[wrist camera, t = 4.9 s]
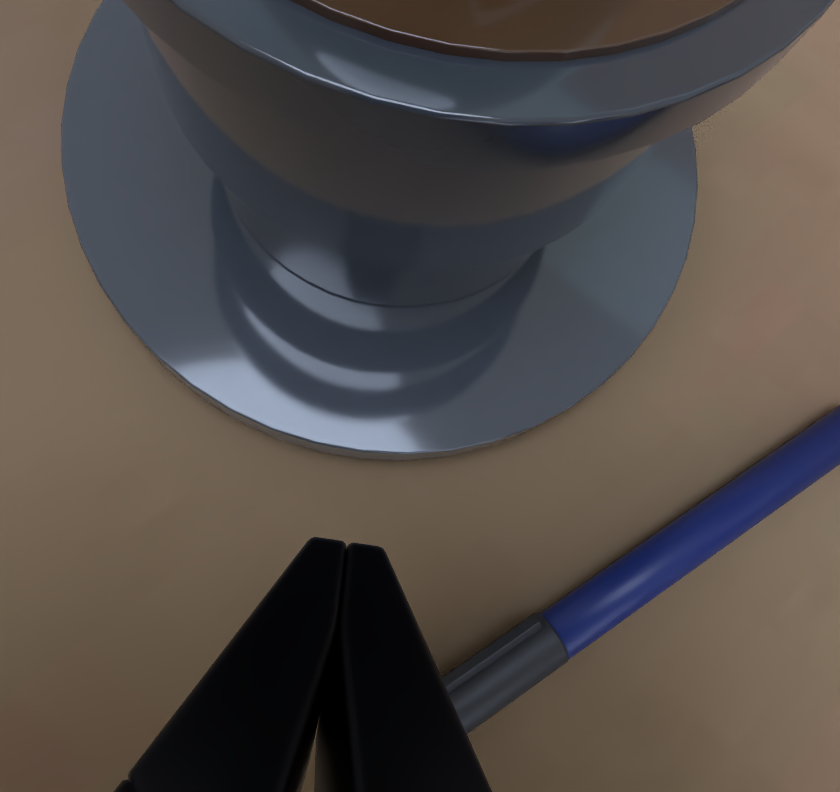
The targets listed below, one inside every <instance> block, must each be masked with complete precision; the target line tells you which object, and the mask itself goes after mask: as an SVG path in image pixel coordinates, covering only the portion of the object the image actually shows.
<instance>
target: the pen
mask: <svg viewBox="0 0 840 792" xmlns="http://www.w3.org/2000/svg"><path fill="white" fill-rule="evenodd" d="M839 464H840V406H838V407H837V408H835V409H834V410H833V411H831V412H830V413H828V414H827V415H825V416H824V417H822V418H821V419H820V420H818V421H817V422H815V423H814V424H812V425H811V426H810V427H808V428H807V429H805V430H804V431H802V432H801V433H799V434H798V435H797V436H795V437H794V438H792V439H791V440H789V441H788V442H787V443H785V444H784V445H782V446H781V447H779V448H778V449H776V450H775V451H774V452H772V453H771V454H769V455H768V456H766V457H765V458H763V459H762V460H761V461H759V462H758V463H756V464H755V465H753V466H752V467H751V468H749V469H748V470H746V471H745V472H743V473H742V474H740V475H739V476H738V477H736V478H735V479H733V480H732V481H730V482H729V483H728V484H726V485H725V486H723V487H722V488H720V489H719V490H717V491H716V492H715V493H713V494H712V495H710V496H709V497H707V498H706V499H705V500H703V501H702V502H700V503H699V504H697V505H696V506H694V507H693V508H692V509H690V510H689V511H687V512H686V513H684V514H683V515H682V516H680V517H679V518H677V519H676V520H674V521H673V522H671V523H670V524H669V525H667V526H666V527H664V528H663V529H661V530H660V531H659V532H657V533H656V534H654V535H653V536H651V537H650V538H648V539H647V540H646V541H644V542H643V543H641V544H640V545H638V546H637V547H636V548H634V549H633V550H631V551H630V552H628V553H627V554H625V555H624V556H623V557H621V558H620V559H618V560H617V561H615V562H614V563H613V564H611V565H610V566H608V567H607V568H605V569H604V570H602V571H601V572H600V573H598V574H597V575H595V576H594V577H592V578H591V579H590V580H588V581H587V582H585V583H584V584H582V585H581V586H579V587H578V588H577V589H575V590H574V591H572V592H571V593H569V594H568V595H567V596H565V597H564V598H562V599H561V600H559V601H558V602H556V603H555V604H554V605H552V606H551V607H549V608H548V609H546V610H545V611H544V612H542V613H541V614H539V613H534V614H533V615H531V616H530V617H528V618H527V619H525V620H524V621H523V622H521V623H520V624H518V625H517V626H515V627H514V628H512V629H511V630H510V631H508V632H507V633H505V634H504V635H502V636H501V637H499V638H498V639H497V640H495V641H494V642H492V643H491V644H489V645H488V646H486V647H485V648H484V649H482V650H481V651H479V652H478V653H476V654H475V655H474V656H472V657H471V658H469V659H468V660H466V661H465V662H463V663H462V664H461V665H459V666H458V667H456V668H455V669H453V670H452V671H450V672H449V673H448V674H446V675H445V676H443V677H442V680H443V682H444V685H445V687H446V689H447V691H448V694H449V696H450V698H451V700H452V703H453V705H454V707H455V709H456V712H457V714H458V716H459V718H460V721H461V723H462V725H463V727H464V730H465V732H466V734H468V733H469V732H471V731H472V730H473V729H475V728H476V727H477V726H479V725H480V724H482V723H483V722H484V721H486V720H487V719H489V718H490V717H491V716H493V715H494V714H496V713H497V712H498V711H500V710H501V709H502V708H504V707H505V706H507V705H508V704H509V703H511V702H512V701H514V700H515V699H516V698H518V697H519V696H520V695H522V694H523V693H525V692H526V691H527V690H529V689H530V688H532V687H533V686H534V685H536V684H537V683H539V682H540V681H541V680H543V679H544V678H545V677H547V676H548V675H550V674H551V673H552V672H554V671H555V670H557V669H558V668H559V667H561V666H562V665H564V664H565V663H566V662H567V661H568V660H569V659H570V658H571V657H573V656H574V655H575V654H577V653H578V652H580V651H581V650H582V649H584V648H585V647H586V646H588V645H589V644H591V643H592V642H593V641H595V640H596V639H598V638H599V637H600V636H602V635H603V634H605V633H606V632H607V631H609V630H610V629H611V628H613V627H614V626H616V625H617V624H618V623H620V622H621V621H623V620H624V619H625V618H627V617H628V616H630V615H631V614H632V613H634V612H635V611H636V610H638V609H639V608H641V607H642V606H643V605H645V604H646V603H648V602H649V601H650V600H652V599H653V598H655V597H656V596H657V595H659V594H660V593H661V592H663V591H664V590H666V589H667V588H668V587H670V586H671V585H673V584H674V583H675V582H677V581H678V580H680V579H681V578H682V577H684V576H685V575H686V574H688V573H689V572H691V571H692V570H693V569H695V568H696V567H698V566H699V565H700V564H702V563H703V562H705V561H706V560H707V559H709V558H710V557H711V556H713V555H714V554H716V553H717V552H718V551H720V550H721V549H723V548H724V547H725V546H727V545H728V544H730V543H731V542H732V541H734V540H735V539H736V538H738V537H739V536H741V535H742V534H743V533H745V532H746V531H748V530H749V529H750V528H752V527H753V526H755V525H756V524H757V523H759V522H760V521H761V520H763V519H764V518H766V517H767V516H768V515H770V514H771V513H773V512H774V511H775V510H777V509H778V508H780V507H781V506H782V505H784V504H785V503H786V502H788V501H789V500H791V499H792V498H793V497H795V496H796V495H798V494H799V493H800V492H802V491H803V490H805V489H806V488H807V487H809V486H810V485H811V484H813V483H814V482H816V481H817V480H818V479H820V478H821V477H823V476H824V475H825V474H827V473H828V472H830V471H831V470H832V469H834V468H835V467H836V466H838V465H839Z"/></svg>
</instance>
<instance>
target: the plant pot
mask: <svg viewBox="0 0 840 792" xmlns="http://www.w3.org/2000/svg"><path fill="white" fill-rule="evenodd" d="M834 1H835V0H103V2H102V3H101V4H100V6H99V7H98V9H97V10H96V12H95V14H94V16H93V18H92V20H91V22H90V24H89V26H88V29H87V31H86V33H85V35H84V37H83V39H82V41H81V43H80V45H79V48H78V51H77V54H76V57H75V61H74V64H73V67H72V71H71V74H70V77H69V80H68V84H67V90H66V96H65V103H64V110H63V117H62V124H61V135H62V170H63V176H64V182H65V189H66V195H67V201H68V207H69V210H70V213H71V216H72V219H73V222H74V226H75V229H76V232H77V235H78V238H79V241H80V244H81V247H82V249H83V251H84V253H85V255H86V257H87V259H88V262H89V264H90V266H91V268H92V270H93V272H94V274H95V276H96V278H97V280H98V282H99V284H100V286H101V287H102V289H103V290H104V292H105V293H106V295H107V296H108V298H109V299H110V301H111V302H112V304H113V305H114V307H115V308H116V310H117V311H118V313H119V314H120V316H121V317H122V318H123V320H124V321H125V323H126V324H127V325H128V326H129V328H130V329H131V330H132V331H133V332H134V333H135V335H136V336H137V337H138V338H139V339H140V340H141V341H142V343H143V344H144V345H145V346H146V347H147V348H148V349H149V350H150V351H151V353H152V354H153V355H154V356H155V357H156V358H157V359H158V360H159V361H160V363H161V364H162V365H163V366H164V367H165V368H166V369H167V370H168V371H170V372H171V373H172V374H173V375H174V376H175V377H177V378H178V379H179V380H180V381H181V382H183V383H184V384H185V385H186V386H187V387H189V388H190V389H191V390H192V391H193V392H194V393H196V394H197V395H198V396H199V397H201V398H203V399H204V400H206V401H207V402H209V403H210V404H212V405H213V406H215V407H217V408H218V409H220V410H221V411H223V412H224V413H226V414H228V415H229V416H231V417H232V418H234V419H236V420H238V421H240V422H242V423H244V424H246V425H248V426H250V427H253V428H255V429H257V430H259V431H261V432H263V433H265V434H268V435H270V436H272V437H274V438H277V439H280V440H283V441H286V442H289V443H293V444H296V445H299V446H302V447H305V448H308V449H312V450H315V451H319V452H325V453H330V454H336V455H341V456H347V457H353V458H358V459H378V460H399V461H403V460H415V459H427V458H439V457H446V456H451V455H455V454H460V453H464V452H469V451H473V450H478V449H482V448H485V447H488V446H491V445H494V444H496V443H499V442H502V441H505V440H507V439H510V438H513V437H515V436H518V435H521V434H523V433H525V432H527V431H528V430H530V429H532V428H534V427H536V426H538V425H540V424H542V423H543V422H545V421H547V420H549V419H551V418H553V417H555V416H557V415H558V414H560V413H562V412H564V411H565V410H567V409H569V408H571V407H572V406H573V405H575V404H576V403H578V402H579V401H580V400H582V399H583V398H584V397H586V396H587V395H589V394H590V393H591V392H593V391H594V390H595V389H597V388H598V387H600V386H601V385H602V384H604V383H605V382H606V381H607V380H608V379H609V378H610V377H611V376H612V375H613V374H614V373H615V372H616V371H617V370H618V369H619V368H620V367H621V366H622V365H623V364H624V363H625V362H626V361H627V360H628V359H629V358H630V357H631V356H632V355H633V354H634V352H635V351H636V350H637V348H638V347H639V346H640V344H641V343H642V342H643V341H644V339H645V338H646V337H647V335H648V334H649V333H650V331H651V330H652V329H653V328H654V326H655V325H656V323H657V321H658V319H659V317H660V316H661V314H662V312H663V310H664V308H665V307H666V305H667V303H668V301H669V300H670V298H671V296H672V294H673V292H674V289H675V287H676V284H677V282H678V279H679V276H680V274H681V271H682V269H683V266H684V263H685V261H686V258H687V253H688V249H689V245H690V240H691V236H692V231H693V227H694V223H695V211H696V199H697V188H698V184H697V164H696V149H695V143H694V138H693V132H692V126H694V125H696V124H698V123H701V122H702V121H704V120H705V119H707V118H708V117H710V116H711V115H713V114H714V113H716V112H717V111H719V110H721V109H722V108H724V107H725V106H727V105H728V104H730V103H731V102H733V101H734V100H736V99H738V98H739V97H741V96H742V95H743V94H744V93H745V92H746V91H747V90H749V89H750V88H751V87H752V86H753V85H754V84H755V83H756V82H757V81H759V80H760V79H761V78H762V77H763V76H764V75H765V74H766V73H768V72H769V71H770V70H771V69H772V68H773V67H774V66H775V65H776V64H777V63H778V62H779V61H780V60H781V59H782V58H783V57H784V56H785V55H786V54H787V53H788V52H789V51H790V49H791V48H792V47H793V46H794V45H795V44H796V43H797V42H798V41H799V40H800V39H801V38H802V37H803V36H804V35H805V34H806V33H807V31H808V30H809V29H810V28H811V27H812V26H813V25H814V24H815V23H816V22H817V21H818V20H819V19H820V18H821V17H822V15H823V14H824V13H825V12H826V10H827V9H828V8H829V7H830V6H831V4H832V3H833V2H834Z"/></svg>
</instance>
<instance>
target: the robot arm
mask: <svg viewBox="0 0 840 792" xmlns="http://www.w3.org/2000/svg"><path fill="white" fill-rule="evenodd" d="M318 719H319V720H318ZM317 724H318V729H317ZM316 729H317V738H316V755H315V787H314V792H492V790H491V788H490V786H489V784H488V781H487V779H486V777H485V775H484V772H483V770H482V768H481V766H480V763H479V761H478V759H477V757H476V754H475V752H474V750H473V748H472V745H471V743H470V741H469V739H468V736H467V734H466V732H465V730H464V727H463V725H462V723H461V721H460V718H459V716H458V714H457V712H456V709H455V707H454V705H453V703H452V700H451V698H450V696H449V694H448V691H447V689H446V687H445V685H444V682H443V680H442V678H441V676H440V673H439V671H438V669H437V667H436V664H435V662H434V660H433V658H432V655H431V653H430V651H429V648H428V646H427V644H426V642H425V639H424V637H423V635H422V633H421V630H420V628H419V626H418V624H417V621H416V619H415V617H414V615H413V612H412V610H411V608H410V606H409V603H408V601H407V599H406V597H405V594H404V592H403V590H402V588H401V585H400V583H399V581H398V579H397V576H396V574H395V572H394V570H393V567H392V565H391V563H390V561H389V558H388V556H387V554H386V552H385V551H384V549H383V548H381V547H379V546H373V545H366V544H359V543H351V544H349V545H348V546H347V549H346V545H345V543H344V542H343V541H339V540H332V539H326V538H319V537H313V538H311V539H310V540H309V541H307V543H306V544H305V545H304V546H303V548H302V549H301V550H300V552H299V553H298V554H297V556H296V557H295V558H294V559H293V561H292V562H291V563H290V565H289V566H288V567H287V568H286V570H285V571H284V572H283V574H282V575H281V576H280V578H279V579H278V580H277V581H276V583H275V584H274V585H273V587H272V588H271V589H270V591H269V592H268V593H267V594H266V596H265V597H264V598H263V600H262V601H261V602H260V603H259V605H258V606H257V607H256V609H255V610H254V611H253V613H252V614H251V615H250V616H249V618H248V619H247V620H246V622H245V623H244V624H243V626H242V627H241V628H240V629H239V631H238V632H237V633H236V635H235V636H234V637H233V639H232V640H231V641H230V642H229V644H228V645H227V646H226V648H225V649H224V650H223V651H222V653H221V654H220V655H219V657H218V658H217V659H216V661H215V662H214V663H213V664H212V666H211V667H210V668H209V670H208V671H207V672H206V674H205V675H204V676H203V677H202V679H201V680H200V681H199V683H198V684H197V685H196V686H195V688H194V689H193V690H192V692H191V693H190V694H189V696H188V697H187V698H186V699H185V701H184V702H183V703H182V705H181V706H180V707H179V709H178V710H177V711H176V712H175V714H174V715H173V716H172V718H171V719H170V720H169V721H168V723H167V724H166V725H165V727H164V728H163V729H162V731H161V732H160V733H159V734H158V736H157V737H156V738H155V740H154V741H153V742H152V744H151V745H150V746H149V747H148V749H147V750H146V751H145V753H144V754H143V755H142V757H141V758H140V759H139V760H138V762H137V763H136V764H135V766H134V767H133V768H132V769H131V771H130V772H129V775H128V780H123V781H122V782H121V783H120V784H119V786H118V787H117V788H116V790H115V791H114V792H301V789H302V785H303V781H304V778H305V774H306V770H307V767H308V763H309V759H310V755H311V751H312V747H313V743H314V738H315V734H316Z"/></svg>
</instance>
